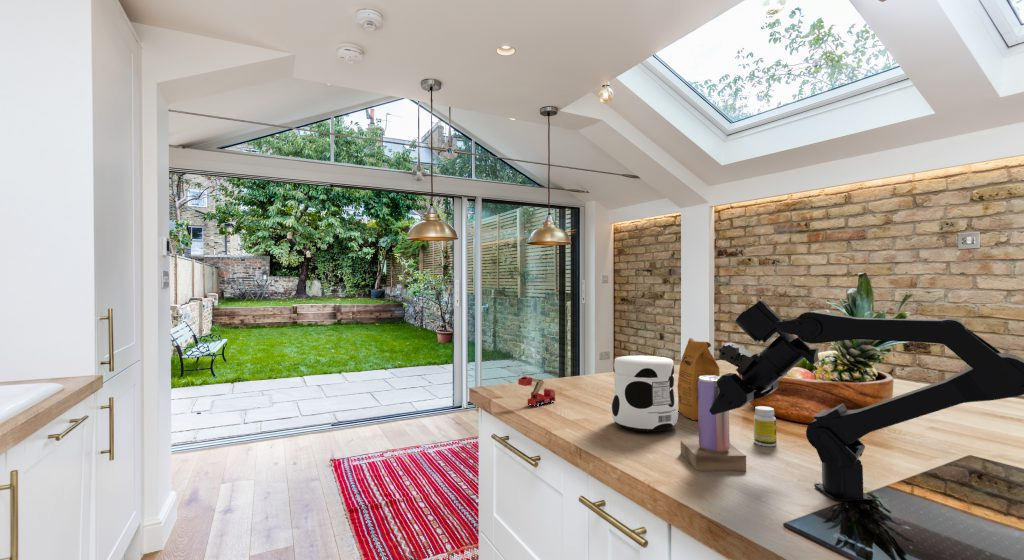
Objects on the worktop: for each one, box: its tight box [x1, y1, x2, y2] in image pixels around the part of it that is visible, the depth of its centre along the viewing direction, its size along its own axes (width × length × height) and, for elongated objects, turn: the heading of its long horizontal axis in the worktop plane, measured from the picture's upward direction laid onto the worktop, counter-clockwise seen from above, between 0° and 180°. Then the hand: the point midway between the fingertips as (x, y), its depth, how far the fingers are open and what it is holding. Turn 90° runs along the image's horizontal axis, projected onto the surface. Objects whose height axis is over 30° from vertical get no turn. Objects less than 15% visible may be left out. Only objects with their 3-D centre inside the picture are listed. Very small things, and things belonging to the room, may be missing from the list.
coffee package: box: [676, 337, 720, 421], centre depth 139 cm, size 10×12×22 cm
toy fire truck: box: [517, 375, 556, 405], centre depth 154 cm, size 3×14×10 cm, turn 130°
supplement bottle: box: [753, 405, 777, 447], centre depth 114 cm, size 5×5×8 cm
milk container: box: [610, 355, 679, 433], centre depth 129 cm, size 17×17×18 cm
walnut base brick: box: [680, 439, 747, 472], centre depth 103 cm, size 10×10×3 cm
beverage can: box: [697, 375, 731, 454], centre depth 101 cm, size 6×6×15 cm
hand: (720, 408), depth 101 cm, fingers open, 9 cm apart
